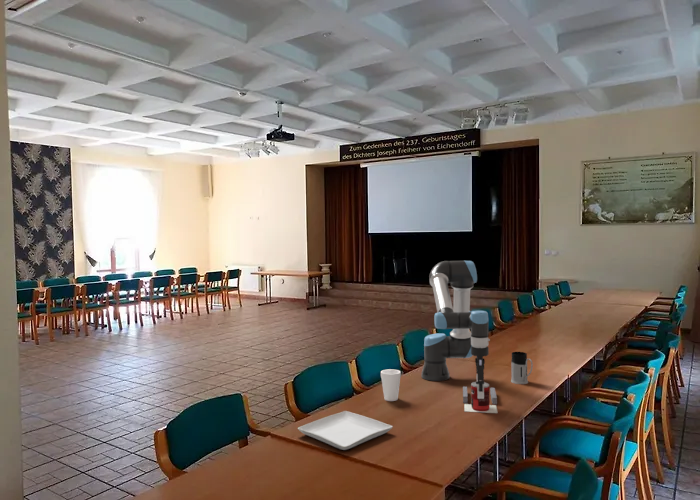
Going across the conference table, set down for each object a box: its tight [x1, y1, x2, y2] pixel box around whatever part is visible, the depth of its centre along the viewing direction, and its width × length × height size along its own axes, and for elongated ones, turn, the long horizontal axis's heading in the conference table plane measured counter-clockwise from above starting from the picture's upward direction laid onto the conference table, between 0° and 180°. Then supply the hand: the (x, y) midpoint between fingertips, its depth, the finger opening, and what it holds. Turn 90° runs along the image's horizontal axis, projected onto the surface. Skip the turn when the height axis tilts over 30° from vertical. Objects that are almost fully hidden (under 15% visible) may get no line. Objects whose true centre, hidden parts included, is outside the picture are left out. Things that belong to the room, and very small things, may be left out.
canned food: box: [470, 381, 491, 411], centre depth 232 cm, size 8×8×11 cm
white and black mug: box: [510, 351, 534, 385], centre depth 271 cm, size 9×14×15 cm, turn 21°
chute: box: [462, 386, 499, 414], centre depth 241 cm, size 15×28×3 cm, turn 168°
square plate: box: [297, 410, 394, 451], centre depth 205 cm, size 27×27×4 cm
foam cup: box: [380, 368, 402, 402], centre depth 249 cm, size 10×9×13 cm
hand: (480, 393), depth 232 cm, fingers open, 13 cm apart
